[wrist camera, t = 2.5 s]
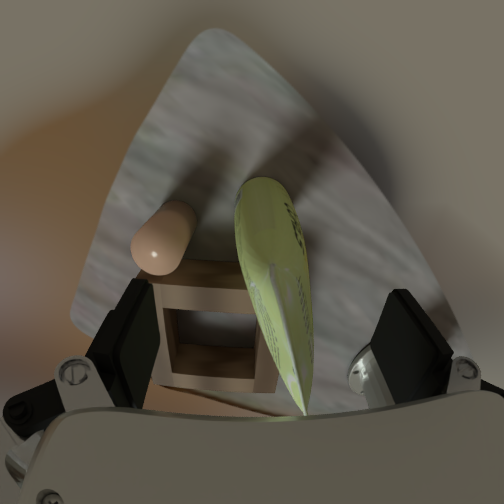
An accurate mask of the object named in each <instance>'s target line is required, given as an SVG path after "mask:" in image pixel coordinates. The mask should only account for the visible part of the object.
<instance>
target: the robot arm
mask: <svg viewBox="0 0 504 504" xmlns="http://www.w3.org/2000/svg"><path fill="white" fill-rule="evenodd" d="M159 346H160V332H159V325H158V318H157V312H156V304H155V297H154V289H153V284H152V283H149V282H148V280H147V279H137V278H133V279H132V280H131V282H130V283H129V285H128V287H127V288H126V290H125V292H124V294H123V295H122V297H121V299H120V301H119V302H118V304H117V306H116V308H115V310H110V311H109V313H108V314H107V316H106V318H105V320H104V321H103V323H102V325H101V327H100V329H99V330H98V332H97V334H96V336H95V338H94V340H93V342H92V344H91V345H90V347H89V349H88V351H87V353H86V355H85V357H84V356H71V357H68V358H65V359H63V360H62V361H61V362H60V363H59V364H58V365H57V367H56V369H55V373H54V376H55V379H54V380H51V381H49V382H47V383H44V384H42V385H39V386H37V387H35V388H33V389H30V390H28V391H25V392H23V393H20V394H18V395H15V396H13V397H12V398H10V399H9V400H8V401H7V402H6V404H5V406H4V409H3V416H2V417H1V418H0V504H504V390H503V389H501V388H499V387H496V386H494V385H492V384H490V383H488V382H486V381H484V380H482V379H481V371H480V368H479V366H478V365H477V364H476V363H475V362H474V361H473V360H471V359H470V358H467V357H464V356H459V357H456V358H455V359H454V360H452V359H451V357H452V355H453V353H454V352H453V350H452V349H451V347H450V346H449V344H448V343H447V342H446V340H445V339H444V337H443V336H442V335H441V333H440V332H439V330H438V329H437V328H436V326H435V325H434V323H433V322H432V321H431V319H430V318H429V317H428V315H427V314H426V313H425V311H424V310H423V309H422V307H421V306H420V305H419V304H418V302H417V301H416V300H415V298H414V297H413V296H412V295H411V293H410V292H409V291H408V290H407V289H394V290H393V291H392V292H391V293H389V295H388V297H387V300H386V303H385V306H384V308H383V311H382V314H381V316H380V319H379V322H378V324H377V327H376V329H375V332H374V334H373V337H372V339H371V342H370V345H369V346H367V347H366V348H365V349H364V350H363V351H361V352H360V354H359V355H358V356H357V357H356V358H355V359H354V361H353V362H352V364H351V366H350V368H349V370H348V375H347V376H348V382H349V385H350V387H351V389H352V390H353V391H354V392H355V393H357V394H359V395H364V396H365V398H366V400H367V403H368V406H369V409H365V410H358V411H350V412H342V413H332V414H321V415H307V416H288V417H228V416H227V417H226V416H209V415H195V414H182V413H172V412H163V411H155V410H145V409H142V407H143V403H144V399H145V395H146V392H147V388H148V385H149V381H150V378H151V374H152V370H153V367H154V363H155V360H156V357H157V353H158V350H159Z"/></svg>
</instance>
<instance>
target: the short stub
mask: <svg viewBox="0 0 504 504" xmlns="http://www.w3.org/2000/svg"><path fill="white" fill-rule="evenodd" d="M196 225H197V218H196V214H195V212H194V210H193V209H192V208H191V207H190V206H189V205H188V204H187V203H185V202H182V201H178V200H173V201H169V202H166V203H165V204H163V205H162V206H161V207H160V208H159V209H158V210H157V211H156V212H155V213H154V214H153V216H152V217H151V218H150V219H149V220H148V221H147V222H146V223H145V224H144V225H143V226H142V227H141V228H140V229H139V230H138V232H137V233H136V234H135V235H134V237H133V239H132V242H131V253H132V257H133V259H134V261H135V262H136V264H137V265H138V266H139V267H140V268H141V269H142V270H144V271H145V272H147V273H150V274H153V275H166V274H169V273H171V272H173V271H174V270H175V269H176V268H177V267H178V265H179V263H180V261H181V259H182V257H183V255H184V252H185V250H186V248H187V246H188V244H189V242H190V239H191V237H192V235H193V233H194V231H195V229H196Z"/></svg>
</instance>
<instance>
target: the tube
mask: <svg viewBox="0 0 504 504" xmlns="http://www.w3.org/2000/svg"><path fill="white" fill-rule="evenodd" d="M235 239H236V247H237V252H238V258H239V262H240V266H241V270H242V273H243V277H244V280H245V283H246V286H247V289H248V292H249V295H250V298H251V301H252V304H253V307H254V310H255V313H256V316H257V319H258V322H259V325H260V327H261V330H262V333H263V335H264V338H265V341H266V343H267V346H268V348H269V350H270V353H271V355H272V357H273V360H274V362H275V364H276V366H277V368H278V370H279V373H280V375H281V377H282V379H283V380H284V382H285V384H286V386H287V388H288V390H289V392H290V394H291V395H292V397H293V399H294V400H295V402H296V403H297V405H298V406H299V408H300V409H301V410H302V412H303V413H304V416H307V415H308V413H307V407H308V403H309V398H310V393H311V386H312V378H313V359H314V339H313V318H312V304H311V292H310V280H309V269H308V261H307V253H306V247H305V241H304V237H303V233H302V229H301V226H300V222H299V219H298V216H297V214H296V211H295V208H294V206H293V204H292V202H291V199H290V197H289V195H288V193H287V191H286V190H285V188H284V187H283V186H282V185H281V184H280V183H279V182H278V181H276V180H274V179H271V178H268V177H257V178H253V179H251V180H249V181H247V182H246V183H244V184H243V185H242V186H241V188H240V189H239V191H238V193H237V195H236V199H235Z"/></svg>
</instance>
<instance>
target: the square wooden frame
mask: <svg viewBox="0 0 504 504" xmlns="http://www.w3.org/2000/svg"><path fill="white" fill-rule="evenodd" d="M136 278H137V279H147V280H148V282H149V283H152V284H153V289H154V297H155V304H156V312H157V318H158V325H159V332H160V346H159V350H158V353H157V357H156V360H155V363H154V367H153V370H152V374H151V375H152V379H153V383H154V384H158V385H165V386H172V387H181V388H190V389H200V390H212V391H226V392H247V393H275V389H276V385H277V380H278V375H279V370H278V368H277V366H276V364H275V362H274V360H273V357H272V355H271V353H270V350H269V348H268V346H267V343H266V341H265V338H264V335H263V333H262V330H261V327H260V325H259V322H258V319H257V322H256V331H255V341H254V348H235V347H219V346H205V345H194V344H183V343H179V333H178V323H177V313H176V309H184V310H196V311H209V312H224V313H241V314H256V313H255V310H254V307H253V304H252V301H251V298H250V295H249V292H248V289H247V286H246V283H245V280H244V277H243V273H242V270H241V266H240V262H223V261H207V260H191V259H181V261H180V263H179V265H178V267H177V268H176V269H175V270H174V271H173V272H171V273H169V274H166V275H153V274H150V273H147V272H145V271H144V270H142V269H141V271H140V272H139V274H138V275H137V277H136Z"/></svg>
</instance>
